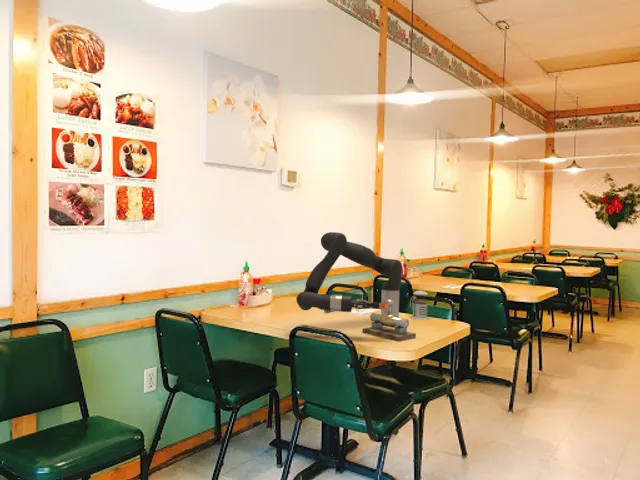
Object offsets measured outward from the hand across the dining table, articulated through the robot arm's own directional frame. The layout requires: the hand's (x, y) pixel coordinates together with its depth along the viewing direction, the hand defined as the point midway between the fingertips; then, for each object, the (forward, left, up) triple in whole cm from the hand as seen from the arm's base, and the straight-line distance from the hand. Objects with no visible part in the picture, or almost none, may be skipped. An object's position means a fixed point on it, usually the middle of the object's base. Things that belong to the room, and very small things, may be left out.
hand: (380, 305), depth 228 cm
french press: (-49, +40, -16) cm, 65 cm away
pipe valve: (-9, +8, -13) cm, 18 cm away
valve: (-79, -1, -16) cm, 81 cm away
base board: (-9, +8, -15) cm, 19 cm away
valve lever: (-4, +4, -1) cm, 6 cm away
